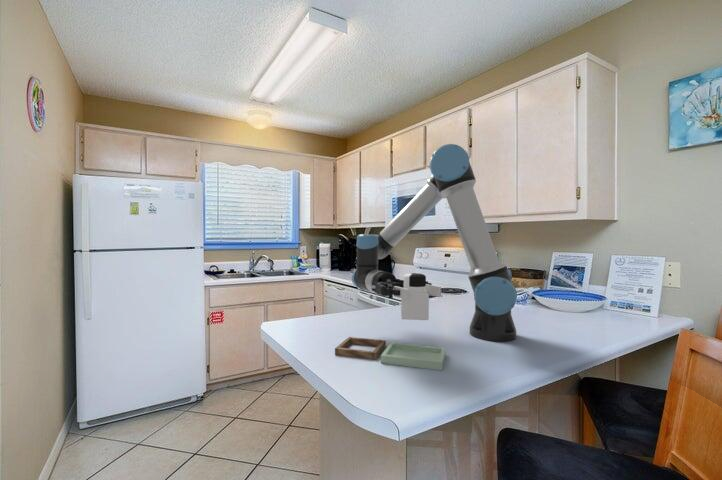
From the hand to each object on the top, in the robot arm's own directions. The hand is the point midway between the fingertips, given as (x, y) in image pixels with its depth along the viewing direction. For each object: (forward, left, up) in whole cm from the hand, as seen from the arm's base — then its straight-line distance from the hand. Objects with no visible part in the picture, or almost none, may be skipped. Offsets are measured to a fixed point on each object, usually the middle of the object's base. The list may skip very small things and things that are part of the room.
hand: (424, 293), depth 92 cm
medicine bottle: (+3, -3, -7) cm, 9 cm away
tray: (+3, -3, -19) cm, 19 cm away
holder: (+19, -5, -19) cm, 27 cm away
